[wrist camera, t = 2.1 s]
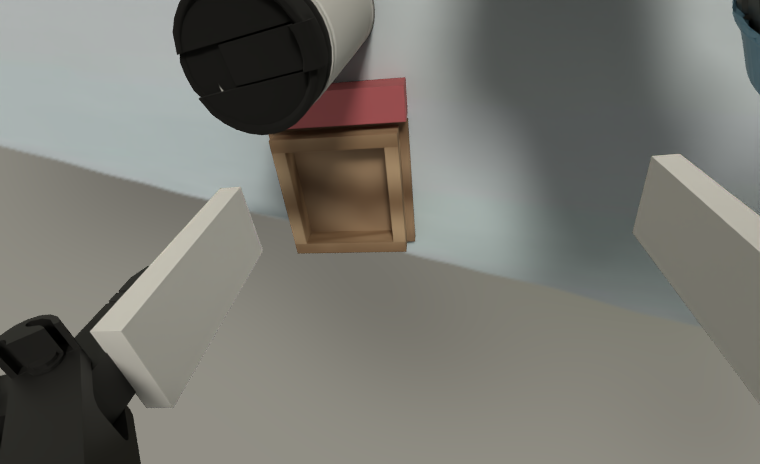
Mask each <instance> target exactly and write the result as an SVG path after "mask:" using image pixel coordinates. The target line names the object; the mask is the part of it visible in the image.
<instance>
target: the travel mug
mask: <svg viewBox="0 0 760 464" xmlns="http://www.w3.org/2000/svg"><path fill="white" fill-rule="evenodd" d="M374 17H375V8H374V1H373V0H181V1H180V2H179V4H178V7H177V11H176V14H175V17H174V25H173V37H174V42H175V47H176V52H177V55H178V54H180V63H181V66H182V68H183V71H184V73H185V76H186V78H187V80H188V81H189V83H190V85H191V87H192V88H193V90H194V91H195V92H196V93H197V94H198V95H199V96H200V98H199V100H200V101H201V102H202V103H203V104H204V106H205V107H206V108H207V109H208V110H209V112H210V113H211V114H212V115H213V116H215V117H216V118H217V119H219V120H220V121H222V122H223V123H225V124H227V125H229V126H230V127H232V128H234V129H236V130H240V131H243V132H246V133H249V134H257V135H268V134H275V133H279V132H282V131H285V130H287V129H288V128H290V127H292V126H293V125H295V124H296V123H297V122H298V121H299V120H300V119H301V118H302V117H303V116H304V115H305V114H306V113H307V111H308V110H309V109H310V108H311V106H312V105H313V104H314V103H315V102H316V101H317V100H318V99H319V98H320V97H321V96H322V94H323V93H324V92H325V91H326V90H327V88H328V87H329V86H330V85H331V83H332V82H333V81H334V79H335V78H336V77H337V76H338V74H339V73H340V72H341V71H342V69H343V68H344V67H345V66H346V64H347V63H348V62H349V61H350V59H351V58H352V57H353V56H354V54H355V53H356V52H357V50H358V49H359V48H360V47H361V45H362V44H363V43H364V42H365V40H366V39H367V37H368V36H369V34H370V32H371V29H372V27H373V23H374Z"/></svg>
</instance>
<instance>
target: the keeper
mask: <svg viewBox="0 0 760 464" xmlns="http://www.w3.org/2000/svg"><path fill="white" fill-rule="evenodd" d="M269 138H270V140H269V144H270V148H271V152H272V156H273V160H274V164H275V167H276V171H277V175H278V179H279V183H280V187H281V190H282V194H283V198H284V202H285V206H286V210H287V213H288V217H289V221H290V225H291V228H292V233H293V236H294V240H295V244H296V248H297V252H298V253H349V252H350V253H351V252H406V249H407V241H415V225H414V209H413V192H412V176H411V160H410V144H409V128H408V118H407V119H406V122H392V123H376V124H360V125H345V126H329V127H313V128H297V129H287V130H285V131H282V132H279V133H275V134H269Z"/></svg>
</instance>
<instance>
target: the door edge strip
mask: <svg viewBox="0 0 760 464" xmlns="http://www.w3.org/2000/svg"><path fill="white" fill-rule="evenodd" d="M407 113H408V112H407V95H406V79H405V77H404V78H391V79H378V80H366V81H353V82H340V83H331V85H330V86H329V87H328V88H327V90H326V91H325V92H324V93H323V94H322V96H321V97H320V98H319V99H318V100H317V101H316V102H315V103H314V104H313V105H312V106H311V108H310V109H309V110H308V111H307V113H306V114H305V115H304V116H303V117H302V118H301V119H300V120H299V121H298V122H297V123H296V124H295V125H293V126H292V127H290V128H288V129H297V128H313V127H329V126H345V125H360V124H376V123H392V122H406V119H407Z"/></svg>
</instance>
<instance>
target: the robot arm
mask: <svg viewBox="0 0 760 464" xmlns="http://www.w3.org/2000/svg"><path fill="white" fill-rule="evenodd" d="M732 8H733V16H734V19H735V22H736V24H737V25H738V27H739V29H740V30H741V35H742V41H743V48H744V57H745V65H746V70H747V74H748V77H749V79H750V82H751V84H752V85H753V87H754V88H755V90H756V91H757V92H758V93H759V94H760V0H733V7H732ZM632 233H633V234H634V235H635V237H636V238H637V240H638V241H639V242H640V244H641V245H642V246H643V248H644V249H645V250H646V252H647V253H648V254H649V256H650V257H651V258H652V260H653V261H654V262H655V264H656V265H657V267H658V268H659V269H660V271H661V272H662V273H663V275H664V276H665V277H666V279H667V280H668V281H669V283H670V284H671V285H672V287H673V288H674V289H675V291H676V292H677V294H678V295H679V296H680V298H681V299H682V300H683V302H684V303H685V304H686V306H687V307H688V308H689V310H690V311H691V312H692V314H693V315H694V316H695V318H696V319H697V321H698V322H699V323H700V325H701V326H702V327H703V329H704V330H705V331H706V333H707V334H708V335H709V337H710V338H711V339H712V341H713V342H714V343H715V345H716V346H717V347H718V349H719V350H720V352H721V353H722V354H723V355H724V357H725V358H726V360H727V361H728V362H729V364H730V365H731V366H732V368H733V369H734V370H735V372H736V373H737V374H738V376H739V377H740V378H741V380H742V381H743V383H744V384H745V385H746V387H747V388H748V389H749V391H750V392H751V393H752V395H753V396H754V397H755V399H756V400H757V401H758V403H759V404H760V216H759V215H758V214H756V213H755V212H754V211H753V210H751V209H750V208H749V207H747V206H746V205H745V204H744V203H742V202H741V201H740V200H738V199H737V198H736V197H735V196H733V195H732V194H731V193H729V192H728V191H727V190H726V189H724V188H723V187H722V186H720V185H719V184H718V183H717V182H715V181H714V180H713V179H711V178H710V177H709V176H708V175H706V174H705V173H704V172H703V171H701V170H700V169H699V168H697V167H696V166H695V165H694V164H692V163H691V162H690V161H688V160H687V159H686V158H685V157H683V156H682V155H681V154H671V155H657V156H651V160H650V164H649V168H648V172H647V176H646V180H645V184H644V188H643V192H642V196H641V200H640V204H639V208H638V212H637V216H636V220H635V224H634V228H633V232H632ZM262 252H263V249H262V246H261V243H260V240H259V238H258V235H257V232H256V229H255V227H254V224H253V221H252V218H251V215H250V212H249V209H248V207H247V204H246V201H245V198H244V195H243V193H242V190H241V187H233V188H220V189H219V190H218V191H217V192H216V194H215V195H214V196H213V197H212V198H211V199H210V200H209V201H208V202H207V203H206V205H205V206H204V207H203V208H202V209H201V210H200V211H199V212H198V213H197V214H196V216H195V217H194V218H193V219H192V220H191V221H190V222H189V223H188V224H187V225H186V226H185V228H184V229H183V230H182V231H181V232H180V233H179V234H178V235H177V236H176V237H175V239H174V240H173V241H172V242H171V243H170V244H169V245H168V246H167V247H166V249H165V250H164V251H163V252H162V253H161V254H160V255H159V256H158V257H157V258H156V259H155V261H154V262H153V263H152V264H151V265H150V266H147V267H146V268H144V269H143V270H141V271H140V272H139V273H137V274H136V275H134V276H132V277H131V278H130V279H129V280H128V281H127V282H126V283H125V285H123V287H122V288H121V289H120V290H119V293H116V294H115V295H114V296H113V297H112V298H111V299H110V300H109V304H106V305H105V306H104V307H103V308H102V309H101V310H100V311H99V312H98V313H97V314H96V315H95V316H94V317H93V319H92V320H91V321H90V322H89V323H88V324H87V325H86V326H85V327H84V328H83V329H82V330H81V332H79V334H78V335H77V336H76V337H75V338H74V337H73V336H72V335H71V333H70V332H69V331H68V329H67V328H66V327H65V326H64V324H63V323H62V322H61V320H60V319H59V318H58V317H57V316H54V315H41V316H37V317H34V318H31V319H28V320H26V321H23V322H21V323H19V324H17V325H15V326H14V327H12V328H10V329H9V330H7V331H6V332H5V333H3V334H2V335H0V368H1V369H2V370H3V371H4V372H5V373H6V375H2V376H0V464H141V462H140V456H139V449H138V443H137V437H136V431H135V426H134V419H133V414H132V413H131V411H130V409H129V408H128V406H127V405H128V403H129V402H130V400H131V399H132V397H133V396H134V394H135V393H136V395H137V396H138V397H139V399H140V400H141V401H142V403H143V404H144V405H145V407H146V408H174V406H175V405H176V403H177V401H178V399H179V397H180V395H181V394H182V392H183V390H184V389H185V387H186V385H187V383H188V382H189V380H190V378H191V376H192V375H193V373H194V371H195V369H196V368H197V366H198V364H199V362H200V361H201V359H202V357H203V355H204V354H205V352H206V350H207V348H208V347H209V345H210V343H211V341H212V340H213V338H214V336H215V334H216V333H217V331H218V329H219V327H220V326H221V324H222V322H223V320H224V319H225V317H226V315H227V313H228V311H229V310H230V308H231V306H232V304H233V303H234V301H235V299H236V297H237V296H238V294H239V292H240V290H241V289H242V287H243V285H244V283H245V282H246V280H247V278H248V276H249V275H250V273H251V271H252V269H253V267H254V266H255V264H256V262H257V261H258V259H259V257H260V255H261V254H262Z"/></svg>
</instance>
